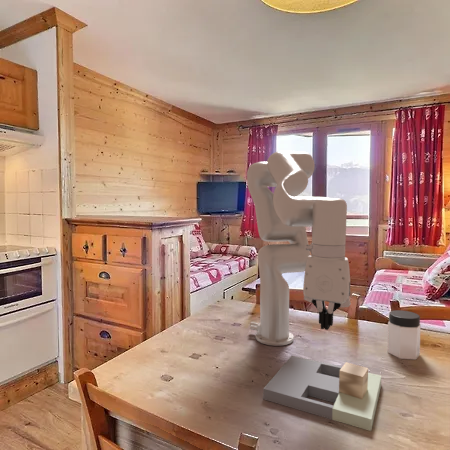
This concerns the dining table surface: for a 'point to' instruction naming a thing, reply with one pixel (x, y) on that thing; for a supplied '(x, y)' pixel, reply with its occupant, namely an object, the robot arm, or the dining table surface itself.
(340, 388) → the birch block
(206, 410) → the dining table surface
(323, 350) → the dining table surface
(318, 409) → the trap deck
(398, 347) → the jar
